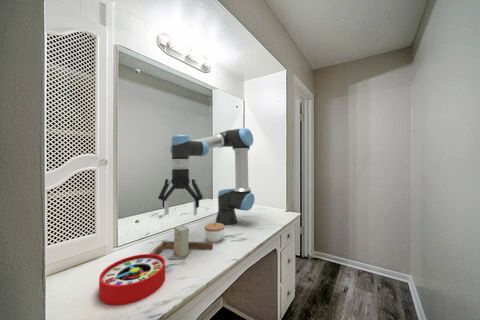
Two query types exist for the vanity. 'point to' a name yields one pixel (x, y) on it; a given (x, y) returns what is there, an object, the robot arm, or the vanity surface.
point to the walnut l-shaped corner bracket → (190, 246)
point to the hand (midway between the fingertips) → (180, 214)
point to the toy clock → (131, 279)
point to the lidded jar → (214, 232)
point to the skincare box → (181, 240)
